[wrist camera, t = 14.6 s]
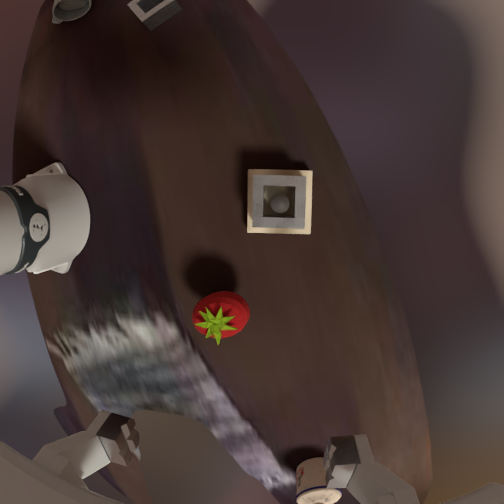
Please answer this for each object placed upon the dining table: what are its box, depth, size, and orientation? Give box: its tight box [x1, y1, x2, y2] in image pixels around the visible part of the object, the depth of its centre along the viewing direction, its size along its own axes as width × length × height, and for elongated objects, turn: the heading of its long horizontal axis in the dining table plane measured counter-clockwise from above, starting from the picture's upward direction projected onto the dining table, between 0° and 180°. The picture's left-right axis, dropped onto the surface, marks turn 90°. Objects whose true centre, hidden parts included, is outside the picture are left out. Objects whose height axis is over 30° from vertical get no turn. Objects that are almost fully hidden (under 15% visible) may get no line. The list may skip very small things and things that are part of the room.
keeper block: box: [247, 169, 312, 234], centre depth 35 cm, size 8×8×7 cm
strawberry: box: [192, 291, 250, 345], centre depth 37 cm, size 6×8×10 cm
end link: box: [252, 175, 306, 229], centre depth 35 cm, size 6×6×4 cm
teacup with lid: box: [296, 457, 342, 504], centre depth 44 cm, size 12×9×12 cm
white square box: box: [127, 0, 182, 31], centre depth 31 cm, size 6×6×4 cm
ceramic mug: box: [52, 0, 91, 24], centre depth 29 cm, size 11×8×8 cm
